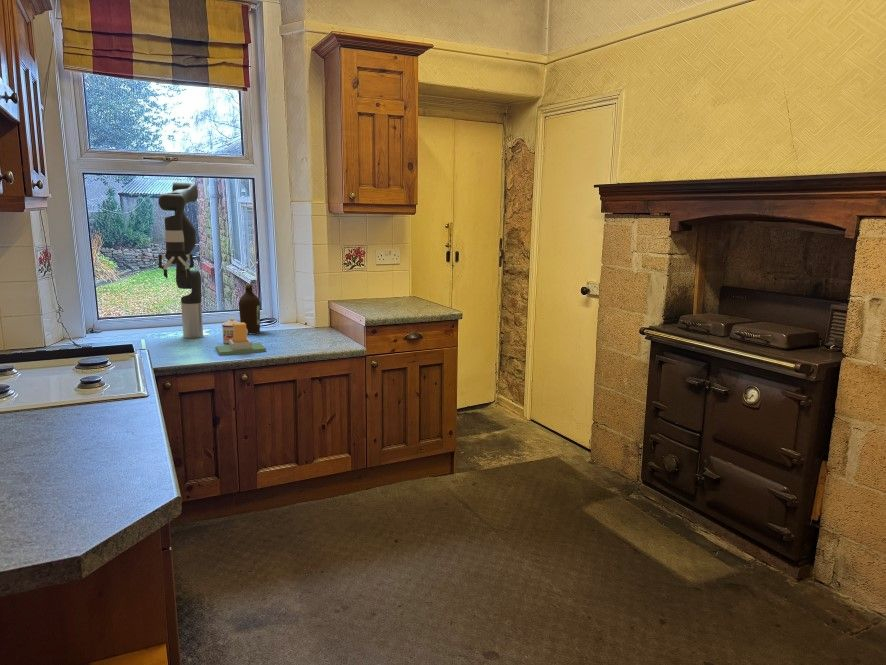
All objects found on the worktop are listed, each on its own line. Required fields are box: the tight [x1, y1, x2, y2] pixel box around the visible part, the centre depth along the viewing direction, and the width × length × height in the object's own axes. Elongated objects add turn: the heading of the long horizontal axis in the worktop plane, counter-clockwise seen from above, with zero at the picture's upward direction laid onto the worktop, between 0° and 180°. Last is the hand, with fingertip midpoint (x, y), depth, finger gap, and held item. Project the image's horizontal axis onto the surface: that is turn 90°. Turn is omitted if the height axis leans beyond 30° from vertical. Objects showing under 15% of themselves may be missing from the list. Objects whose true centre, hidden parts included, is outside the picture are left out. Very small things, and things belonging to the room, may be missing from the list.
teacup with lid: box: [221, 317, 249, 345], centre depth 293 cm, size 12×9×12 cm
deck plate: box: [214, 337, 267, 356], centre depth 278 cm, size 13×20×4 cm, turn 118°
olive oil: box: [238, 284, 261, 334], centre depth 314 cm, size 11×11×25 cm
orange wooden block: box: [233, 322, 248, 343], centre depth 277 cm, size 5×5×11 cm
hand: (177, 277), depth 269 cm, fingers open, 8 cm apart
